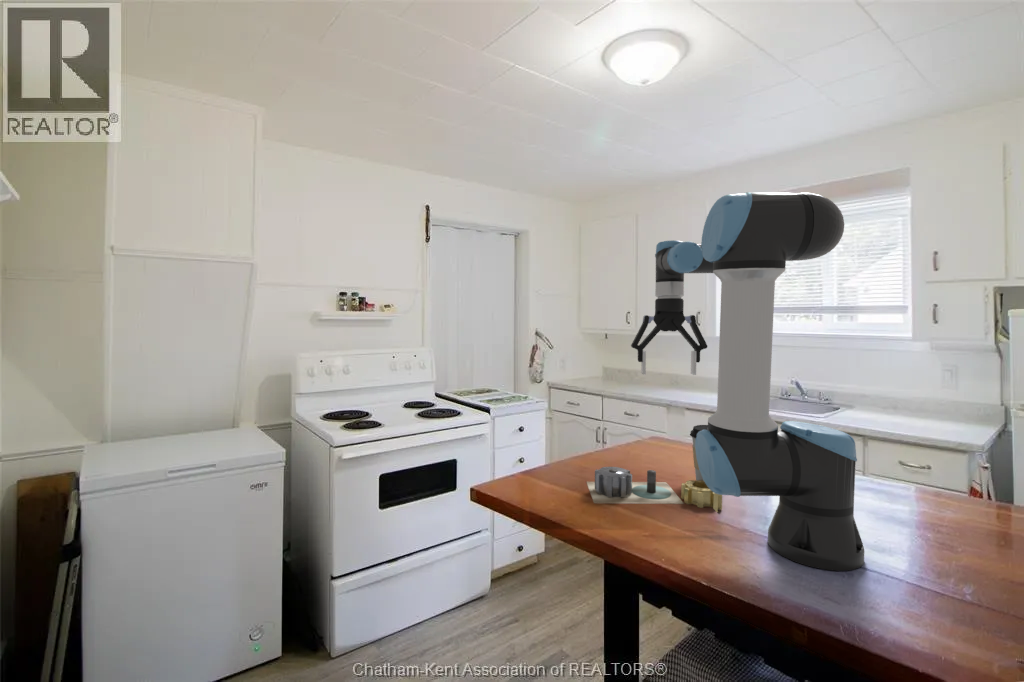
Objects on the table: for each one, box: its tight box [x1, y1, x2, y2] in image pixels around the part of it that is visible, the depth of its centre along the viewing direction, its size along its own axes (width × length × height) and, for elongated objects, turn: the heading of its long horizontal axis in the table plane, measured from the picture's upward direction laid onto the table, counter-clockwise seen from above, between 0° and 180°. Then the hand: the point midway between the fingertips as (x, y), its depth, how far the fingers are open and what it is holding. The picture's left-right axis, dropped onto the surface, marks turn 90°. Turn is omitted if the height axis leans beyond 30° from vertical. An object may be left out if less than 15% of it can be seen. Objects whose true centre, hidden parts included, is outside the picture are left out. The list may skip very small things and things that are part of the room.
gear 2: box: [680, 479, 723, 513], centre depth 111 cm, size 8×8×5 cm
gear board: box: [586, 469, 685, 505], centre depth 116 cm, size 14×20×7 cm
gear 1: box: [594, 466, 633, 497], centre depth 116 cm, size 8×8×5 cm
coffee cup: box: [689, 424, 708, 481], centre depth 123 cm, size 9×9×15 cm
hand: (668, 374), depth 137 cm, fingers open, 13 cm apart
